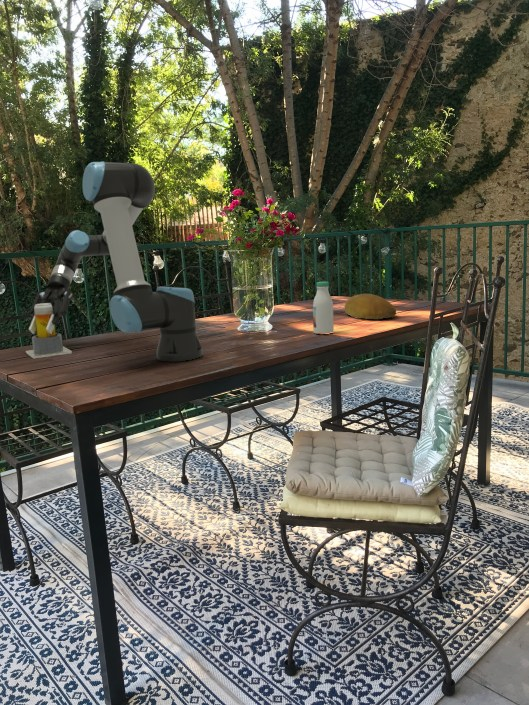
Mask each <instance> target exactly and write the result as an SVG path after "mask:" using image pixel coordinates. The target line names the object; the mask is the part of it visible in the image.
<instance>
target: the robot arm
mask: <svg viewBox="0 0 529 705" xmlns="http://www.w3.org/2000/svg"><path fill="white" fill-rule="evenodd" d="M83 172H84V173H83V174H82V175H83V177H82V193H83V197H84V198H85V200H86V201H88V202H92V203H93V204H92V205H93V208H94V210H95V211H97V212H98V213H100V217H101V222H102V226H103V232H102V233H101V234H95V235H94V234H92V235H88V234H87V233H86V232H85V231H81V230H78V229H77V230H72V231H71V232H70V233H69V234H68V236H67V237H66V239H65V241H64V244H63V246H62V248H61V250H60V251H59V254H58V257H57V260H56V263H55V265H54V267H53V270H52V272H51V274H50V277H49V279H48V281H47V284H46V285H47V286H46V289H45V290H44V291H43V292H40V291H36V296H35V297H34V298H35V299H34V300H33V303H32V305H31V307H30V309H29V311H28V313H29V315H30V316H31V319H30V325H29V327H28V331H29V332H31V334H32V335H35V334H36V332H37V327H36V319H35V311H34V307H35V305H36V304H42V303H51V304H52V303H53V302H54V307H53V308H54V310H53V314H52V315H51V317H50V320H49V323H48V325H47V328H46V330H47V331H48V333H49V334H52V331H53V329H54V326H55V327H56V326H57V324H58V323H59V320H60V318H61V317H63V318H65V317H66V315H67V313H68V309H69V307H70V303H71V300H72V298H73V297H74V295H73V294H72V291H71V290H70V288H71V284H72V281H73V279H74V276H75V274H76V271H77V269H78V266H79V264H80V262H81V260H82V258H83V257H93V256H94V257H95V256H96V257H97V256H110V259H111V260H110V261H111V264H112V265H111V266H112V270H113V273H114V277H115V278H114V279H115V282H116V287H115V289H114V291H113V295H114V296H112V297H111V299H110V301H109V310H110V311H109V312H110V315H111V319H112V321H113V323H114V325H115V326H116V328H118V329H119V330H120V331H121V332H123V333H127V334H128V333H139V332H143V331H150V330H152V331H153V330H157V329H159V333H160V334H159V335H160V336H159V339H158V340H159V341H158V344H157V349H156V352H155V353H156V359H157V360H158V361H162V362H186V360H188V361H192V359H193V360H197V359H200V358H202V357H203V356H202V355H204V351H203V347H202V345H201V342H200V340H199V336H198V334H197V328H196V325H197V324H196V312H195V311H196V310H195V302H196V301H195V296H194V292H193V290H192V289H190V288H188V287H187V288H186V287H176V286H175V287H174V286H173V287H172V286H158V287H156V291H153V288H152V285H151V284H150V282H149V283H148V281H146V280H145V276H144V272H143V267H142V263H141V259H140V255H139V250H138V245H137V242H136V238H135V232H134V229H133V225H134V224H135V222H136V220H137V219H138V217H139V215H140V214H141V213H142V211H143V209H147V208H148V207H149V206H150V204H151V203H152V201H153V199H154V197H155V193H156V187H155V186H156V185H155V180H154V178H153V176H152V174H151V173H150V172H149V171H148V169H147V168H145V167H144V166H143V165H141V164H138V163H135V162H134V163H133V162H129V163H127V162H114V161H113V162H111V161H109V162H108V161H93V162H90V163H88V165H86V167H85V169H84V171H83ZM201 356H202V357H201ZM199 357H200V358H199ZM196 358H197V359H196Z"/></svg>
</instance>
